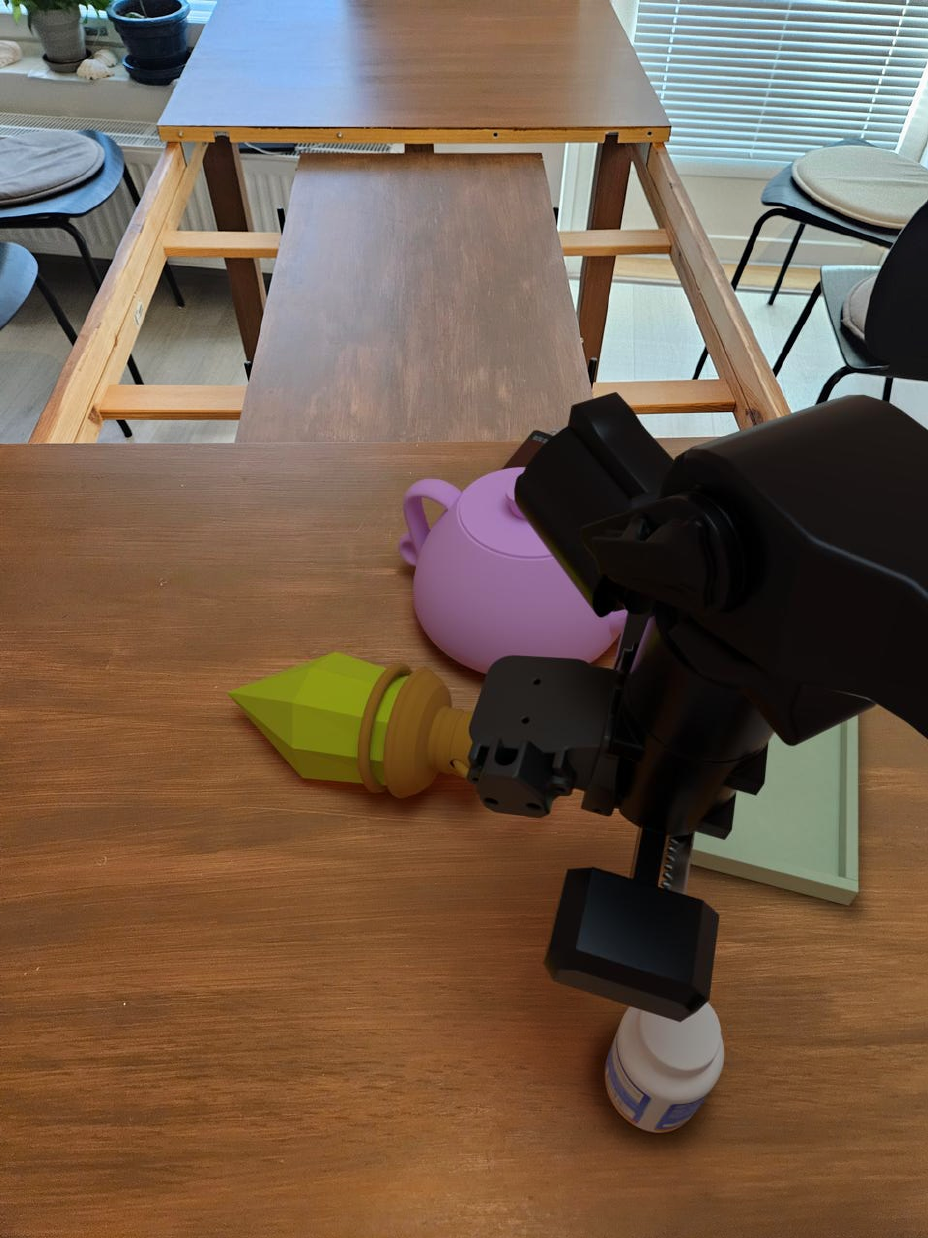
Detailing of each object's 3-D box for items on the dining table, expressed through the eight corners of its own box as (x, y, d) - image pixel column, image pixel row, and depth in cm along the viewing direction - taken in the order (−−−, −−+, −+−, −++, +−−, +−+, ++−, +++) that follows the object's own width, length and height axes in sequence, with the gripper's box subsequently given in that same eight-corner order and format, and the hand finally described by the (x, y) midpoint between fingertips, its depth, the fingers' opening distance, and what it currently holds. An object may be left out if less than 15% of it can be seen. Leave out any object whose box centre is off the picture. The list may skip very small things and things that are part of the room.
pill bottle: (703, 1047, 52) (742, 986, 45) (693, 1148, 49) (734, 1100, 41) (610, 1020, 53) (634, 957, 46) (595, 1118, 50) (618, 1066, 42)
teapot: (349, 639, 73) (332, 512, 63) (445, 511, 84) (444, 385, 74) (640, 750, 66) (674, 628, 56) (705, 595, 77) (743, 469, 67)
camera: (591, 443, 87) (542, 509, 81) (586, 465, 89) (538, 531, 83) (534, 420, 89) (481, 483, 82) (530, 441, 91) (478, 505, 85)
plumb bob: (203, 779, 65) (534, 860, 57) (176, 679, 60) (536, 753, 52) (266, 704, 72) (569, 768, 64) (248, 609, 67) (573, 666, 59)
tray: (848, 906, 58) (858, 892, 57) (670, 858, 60) (675, 844, 59) (850, 609, 76) (858, 593, 74) (712, 580, 78) (717, 564, 76)
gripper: (551, 480, 40) (517, 673, 53) (422, 858, 29) (417, 988, 42) (800, 541, 39) (704, 724, 51) (763, 963, 28) (652, 1066, 40)
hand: (622, 857), depth 46 cm, fingers open, 9 cm apart
